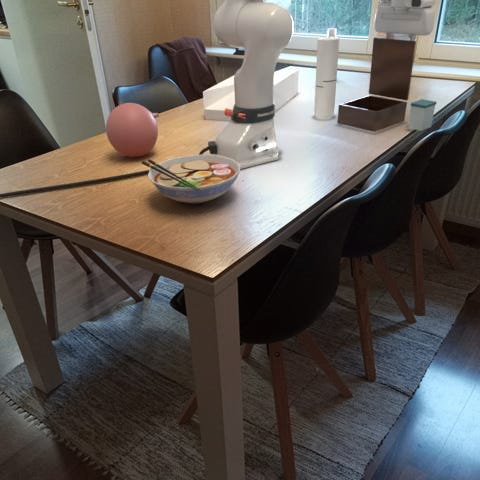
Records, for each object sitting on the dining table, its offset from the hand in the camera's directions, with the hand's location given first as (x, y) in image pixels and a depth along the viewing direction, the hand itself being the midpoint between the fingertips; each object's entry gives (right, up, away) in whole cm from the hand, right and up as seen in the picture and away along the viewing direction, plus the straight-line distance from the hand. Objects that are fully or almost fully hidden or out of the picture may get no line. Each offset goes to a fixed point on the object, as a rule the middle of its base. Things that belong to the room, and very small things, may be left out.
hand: (399, 49), depth 160 cm
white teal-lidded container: (+7, -27, 0) cm, 27 cm away
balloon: (-84, -37, -6) cm, 91 cm away
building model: (-47, -3, +35) cm, 58 cm away
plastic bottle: (-10, +25, +69) cm, 74 cm away
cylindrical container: (-22, -15, +17) cm, 32 cm away
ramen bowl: (-63, -58, -36) cm, 93 cm away
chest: (-7, -22, +7) cm, 24 cm away
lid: (-2, -6, +1) cm, 6 cm away
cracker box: (+12, +12, +51) cm, 53 cm away
